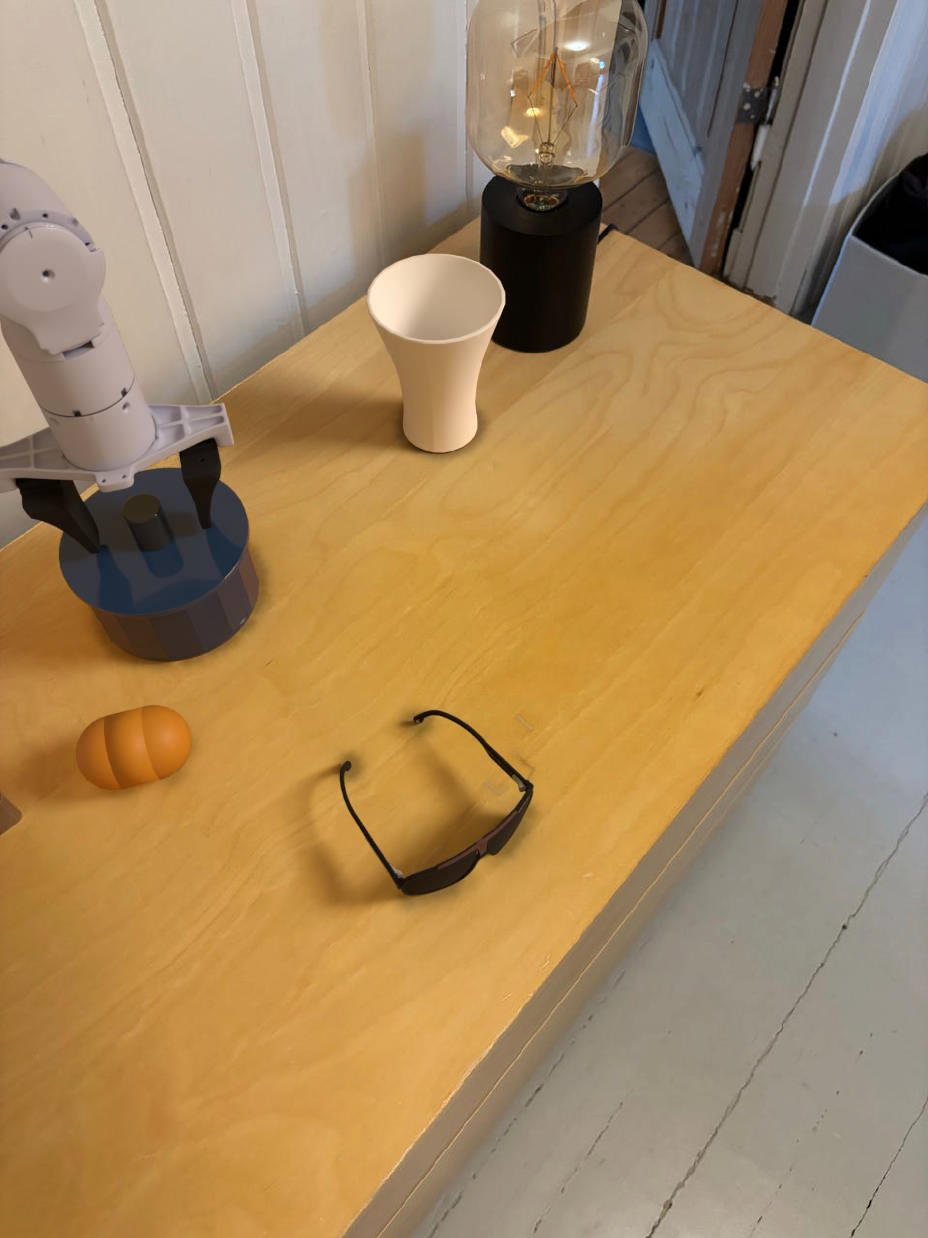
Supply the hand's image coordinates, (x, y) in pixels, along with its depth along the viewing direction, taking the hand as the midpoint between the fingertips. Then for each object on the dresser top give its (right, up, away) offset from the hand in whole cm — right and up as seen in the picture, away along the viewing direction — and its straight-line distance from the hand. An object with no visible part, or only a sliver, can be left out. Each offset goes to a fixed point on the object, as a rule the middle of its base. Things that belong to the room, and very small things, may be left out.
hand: (150, 530), depth 65 cm
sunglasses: (+20, -19, -3) cm, 27 cm away
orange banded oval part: (0, -15, -1) cm, 15 cm away
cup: (+20, +10, +16) cm, 28 cm away
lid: (0, -1, +1) cm, 1 cm away
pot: (0, -4, +6) cm, 8 cm away
